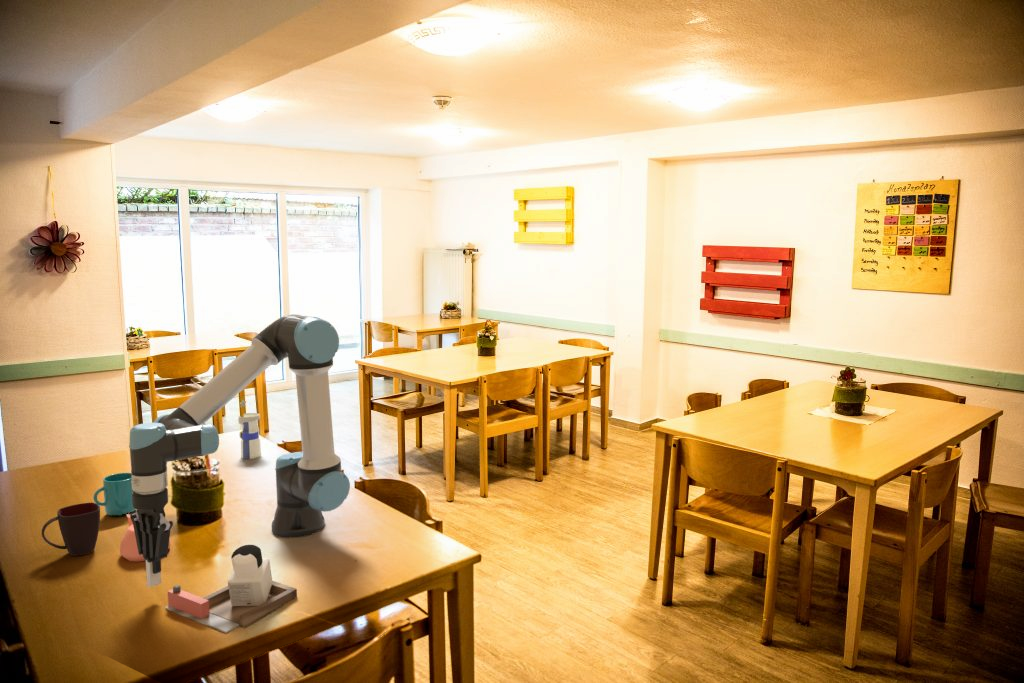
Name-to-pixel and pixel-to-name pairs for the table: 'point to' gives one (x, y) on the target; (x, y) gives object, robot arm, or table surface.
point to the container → (249, 577)
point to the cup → (116, 494)
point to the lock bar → (188, 602)
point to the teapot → (131, 544)
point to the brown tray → (240, 608)
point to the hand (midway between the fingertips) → (154, 584)
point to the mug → (77, 527)
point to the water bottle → (249, 435)
